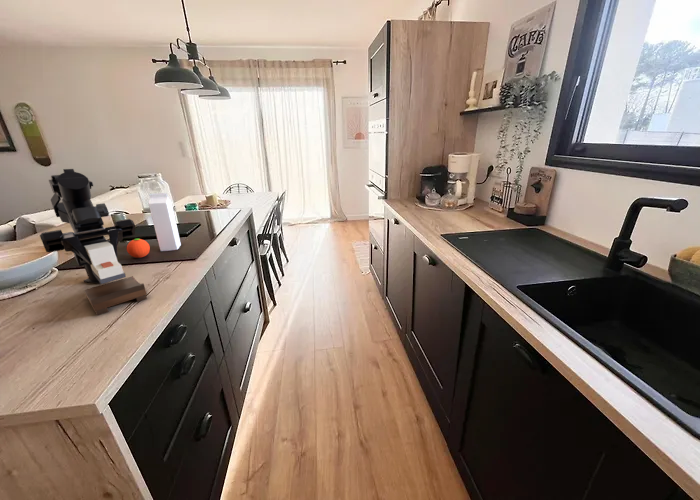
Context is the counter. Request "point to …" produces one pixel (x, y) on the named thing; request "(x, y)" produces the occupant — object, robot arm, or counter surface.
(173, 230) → the milk
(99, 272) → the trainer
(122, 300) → the brown wooden stand
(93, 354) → the counter surface
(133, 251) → the clementine
